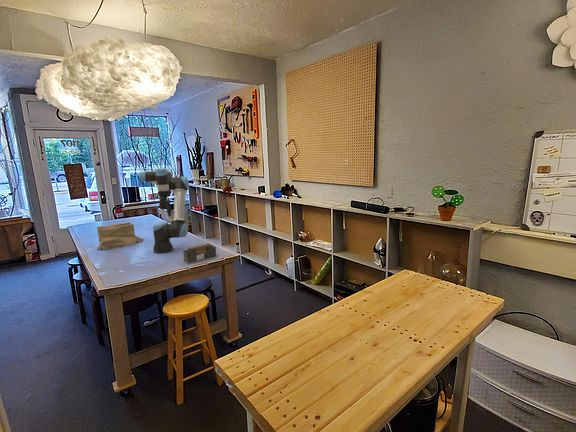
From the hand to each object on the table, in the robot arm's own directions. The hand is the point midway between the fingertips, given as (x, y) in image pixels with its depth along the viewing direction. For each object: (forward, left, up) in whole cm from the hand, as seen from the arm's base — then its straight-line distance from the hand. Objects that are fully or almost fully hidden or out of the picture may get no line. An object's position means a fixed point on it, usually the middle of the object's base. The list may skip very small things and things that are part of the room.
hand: (166, 219), depth 223 cm
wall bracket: (-73, -19, -32) cm, 82 cm away
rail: (+12, +18, -28) cm, 35 cm away
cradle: (-75, -21, -32) cm, 84 cm away
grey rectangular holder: (+12, +18, -32) cm, 38 cm away
